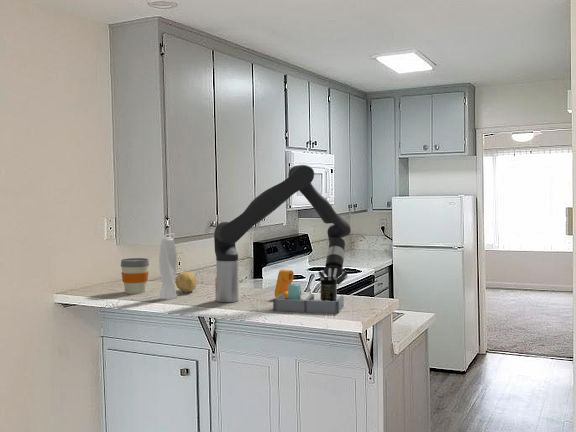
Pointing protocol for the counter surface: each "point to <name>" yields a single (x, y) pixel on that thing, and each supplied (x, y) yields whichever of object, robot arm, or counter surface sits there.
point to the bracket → (283, 282)
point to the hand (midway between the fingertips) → (330, 291)
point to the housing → (305, 302)
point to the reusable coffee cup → (134, 275)
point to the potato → (186, 281)
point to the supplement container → (328, 289)
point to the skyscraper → (168, 267)
